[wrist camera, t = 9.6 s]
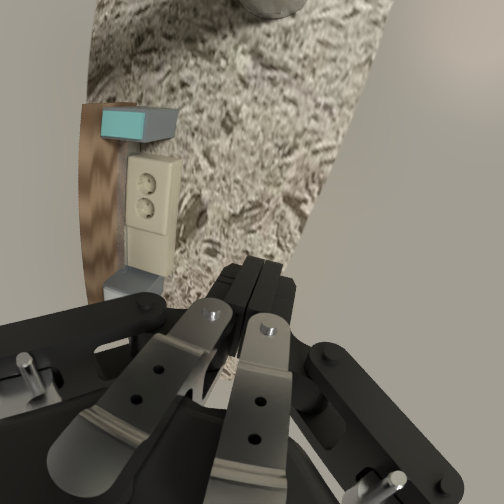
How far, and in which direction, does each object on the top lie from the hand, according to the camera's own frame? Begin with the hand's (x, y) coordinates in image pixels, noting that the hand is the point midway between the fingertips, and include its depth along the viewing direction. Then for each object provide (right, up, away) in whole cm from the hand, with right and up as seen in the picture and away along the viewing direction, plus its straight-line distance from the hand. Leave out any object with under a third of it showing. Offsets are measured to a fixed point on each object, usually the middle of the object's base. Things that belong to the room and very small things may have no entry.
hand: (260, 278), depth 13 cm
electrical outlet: (-15, +7, +33) cm, 37 cm away
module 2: (-19, -3, +38) cm, 43 cm away
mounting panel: (-21, +9, +33) cm, 40 cm away
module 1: (-14, +20, +27) cm, 36 cm away
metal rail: (-19, +9, +33) cm, 39 cm away
